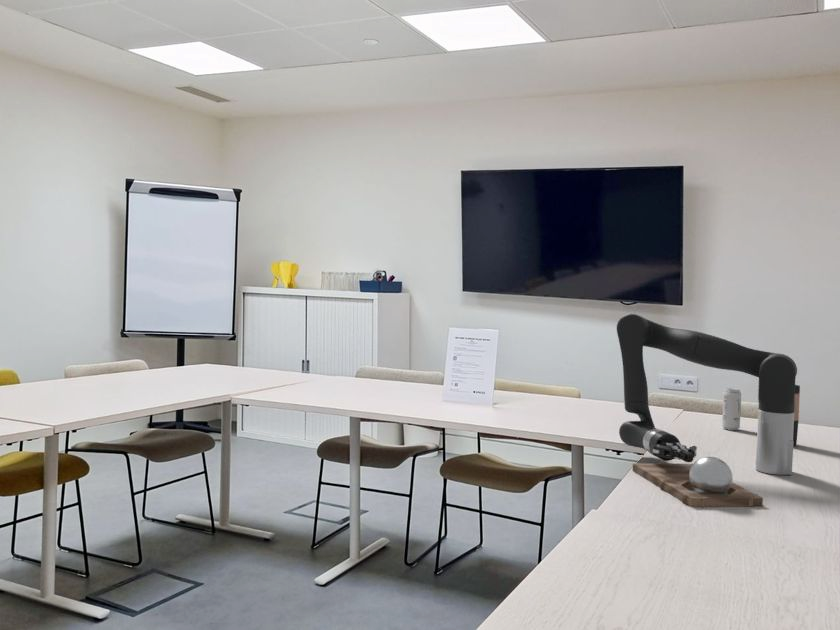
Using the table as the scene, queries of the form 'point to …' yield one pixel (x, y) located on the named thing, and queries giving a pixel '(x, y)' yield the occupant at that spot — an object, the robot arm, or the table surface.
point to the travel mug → (796, 414)
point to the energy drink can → (731, 409)
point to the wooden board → (678, 483)
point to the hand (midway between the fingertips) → (690, 458)
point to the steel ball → (710, 476)
